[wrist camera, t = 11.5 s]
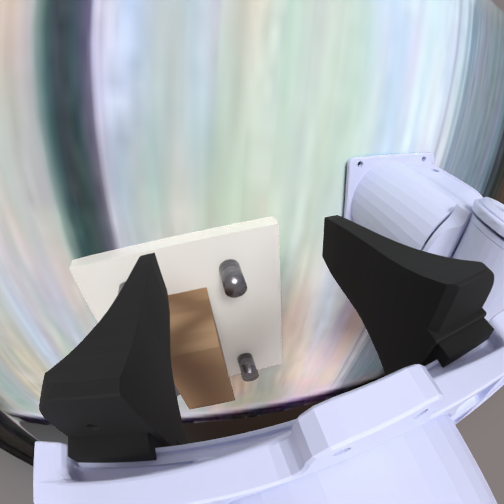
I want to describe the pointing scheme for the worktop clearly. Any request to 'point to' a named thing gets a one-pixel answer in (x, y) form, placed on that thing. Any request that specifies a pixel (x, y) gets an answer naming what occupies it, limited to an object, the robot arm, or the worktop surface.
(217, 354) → the walnut block
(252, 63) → the worktop surface
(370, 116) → the worktop surface
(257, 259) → the plate
